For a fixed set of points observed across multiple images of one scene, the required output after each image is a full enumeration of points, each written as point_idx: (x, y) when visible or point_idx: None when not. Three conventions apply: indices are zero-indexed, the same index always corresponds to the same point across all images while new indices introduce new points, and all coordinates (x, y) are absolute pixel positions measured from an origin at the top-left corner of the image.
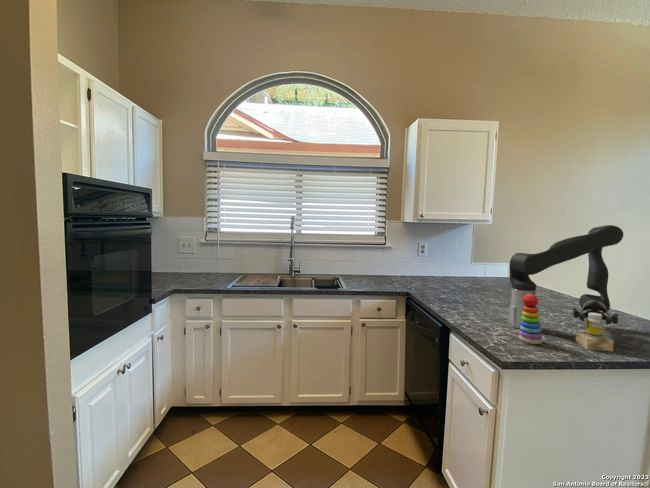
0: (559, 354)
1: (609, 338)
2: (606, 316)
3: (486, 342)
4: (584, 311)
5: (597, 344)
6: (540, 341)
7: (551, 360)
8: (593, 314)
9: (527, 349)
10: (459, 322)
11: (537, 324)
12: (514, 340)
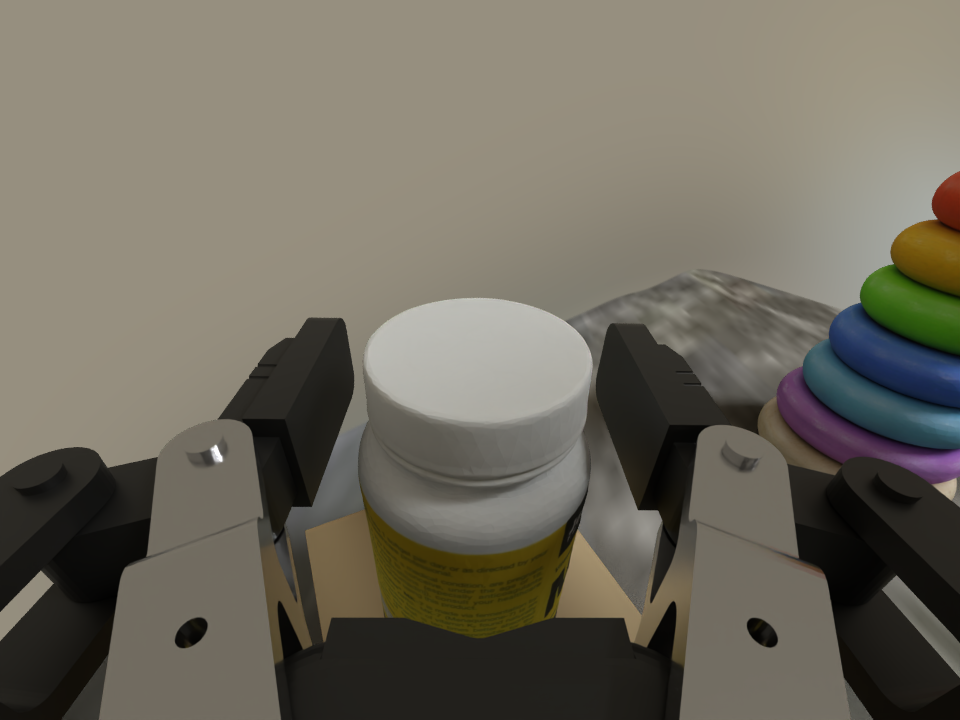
0: None
1: (319, 593)
2: (256, 456)
3: None
4: (753, 540)
5: None
6: (762, 417)
7: (605, 311)
8: (501, 313)
9: (732, 351)
10: None
11: (844, 314)
12: None
